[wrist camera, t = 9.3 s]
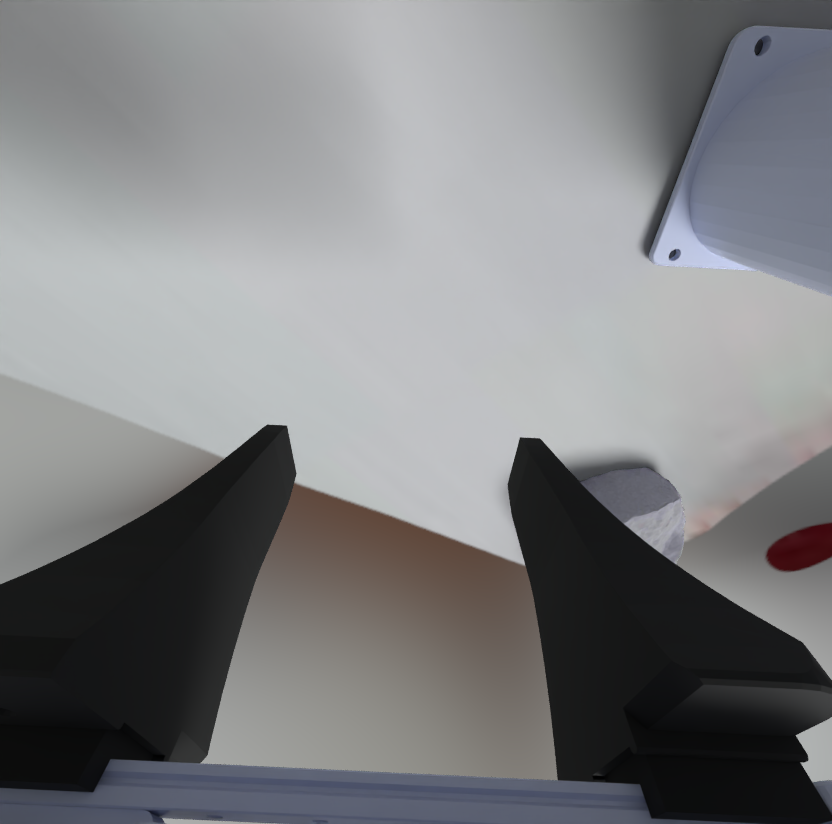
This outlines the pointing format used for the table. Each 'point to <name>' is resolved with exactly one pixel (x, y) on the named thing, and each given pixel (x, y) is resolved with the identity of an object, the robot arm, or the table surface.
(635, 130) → the table surface
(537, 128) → the table surface
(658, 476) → the stone block
